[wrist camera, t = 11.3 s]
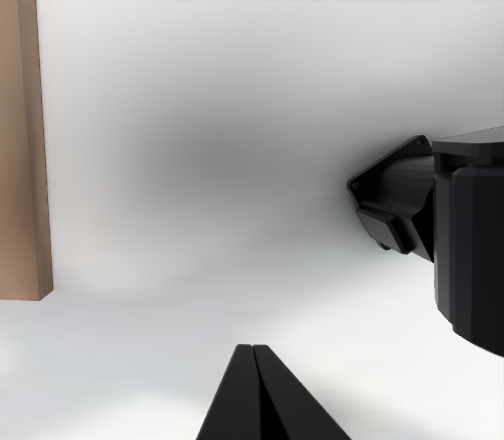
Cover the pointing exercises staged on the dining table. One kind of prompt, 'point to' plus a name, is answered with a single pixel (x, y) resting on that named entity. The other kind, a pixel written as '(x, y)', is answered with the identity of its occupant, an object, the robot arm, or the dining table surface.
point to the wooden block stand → (22, 159)
